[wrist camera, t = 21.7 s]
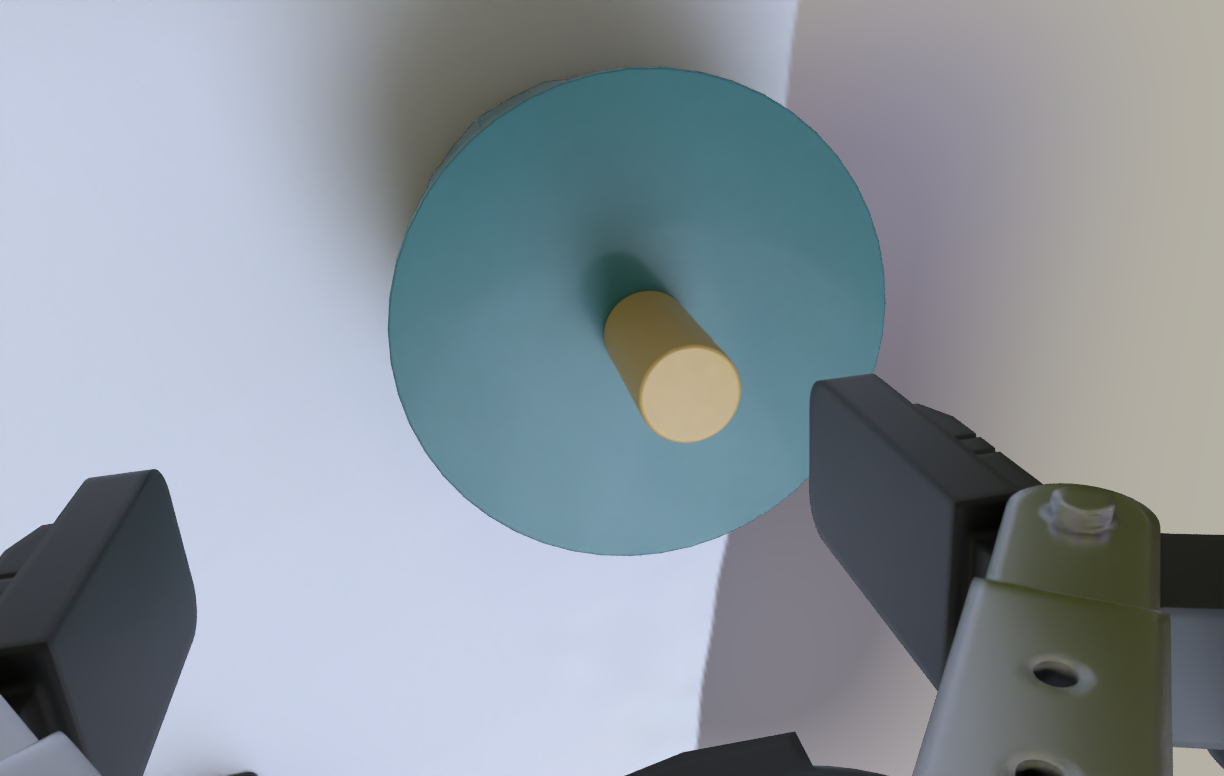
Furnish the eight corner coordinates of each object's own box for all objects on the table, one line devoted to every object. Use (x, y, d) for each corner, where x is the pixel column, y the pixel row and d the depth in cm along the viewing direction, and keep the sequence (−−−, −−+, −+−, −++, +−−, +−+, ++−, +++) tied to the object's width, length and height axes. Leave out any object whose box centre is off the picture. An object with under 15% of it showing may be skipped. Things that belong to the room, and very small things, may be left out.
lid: (427, 568, 30) (425, 698, 24) (350, 89, 25) (325, 107, 19) (864, 502, 31) (961, 608, 26) (873, 44, 27) (994, 48, 21)
